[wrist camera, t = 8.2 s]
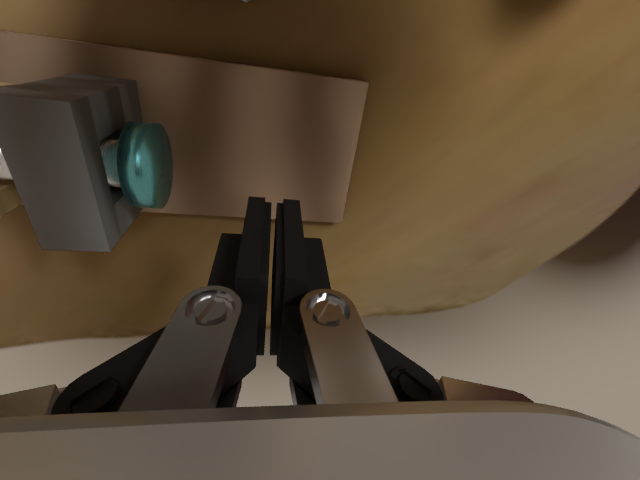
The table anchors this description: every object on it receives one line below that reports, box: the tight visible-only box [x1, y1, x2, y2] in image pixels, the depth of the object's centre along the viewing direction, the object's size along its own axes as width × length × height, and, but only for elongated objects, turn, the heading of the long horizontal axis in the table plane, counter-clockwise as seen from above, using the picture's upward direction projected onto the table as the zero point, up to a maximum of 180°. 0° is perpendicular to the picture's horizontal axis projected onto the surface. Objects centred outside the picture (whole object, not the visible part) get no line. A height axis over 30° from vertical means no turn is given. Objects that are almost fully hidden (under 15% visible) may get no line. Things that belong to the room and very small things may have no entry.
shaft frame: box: [0, 30, 369, 252], centre depth 17 cm, size 32×10×8 cm, turn 83°
